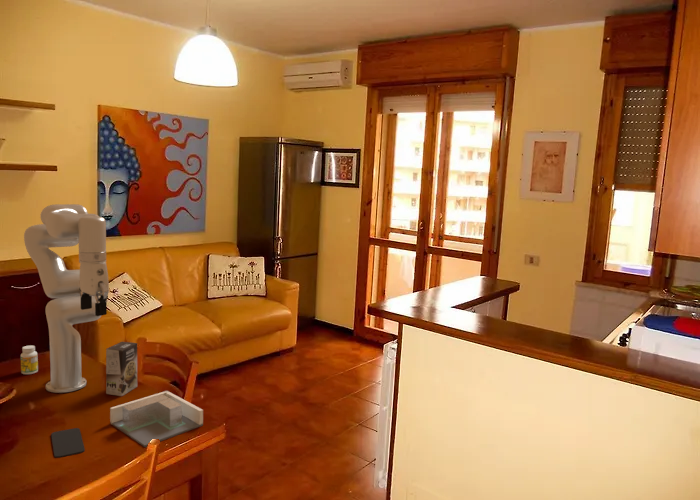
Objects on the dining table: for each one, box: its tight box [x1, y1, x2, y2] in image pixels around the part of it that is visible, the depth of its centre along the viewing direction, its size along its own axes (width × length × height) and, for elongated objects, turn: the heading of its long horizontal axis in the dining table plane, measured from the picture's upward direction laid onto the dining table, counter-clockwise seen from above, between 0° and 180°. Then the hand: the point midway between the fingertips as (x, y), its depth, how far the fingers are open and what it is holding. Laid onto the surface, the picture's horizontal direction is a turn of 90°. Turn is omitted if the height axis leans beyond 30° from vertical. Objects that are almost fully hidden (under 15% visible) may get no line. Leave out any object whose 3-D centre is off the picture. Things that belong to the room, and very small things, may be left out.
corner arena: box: [109, 390, 204, 448], centre depth 164 cm, size 20×19×5 cm
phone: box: [50, 427, 86, 459], centre depth 151 cm, size 7×1×15 cm
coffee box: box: [105, 341, 138, 397], centre depth 186 cm, size 9×6×16 cm
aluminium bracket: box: [122, 394, 182, 430], centre depth 162 cm, size 13×11×6 cm
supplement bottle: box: [20, 344, 39, 375], centre depth 199 cm, size 5×5×10 cm
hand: (93, 312), depth 166 cm, fingers open, 9 cm apart
